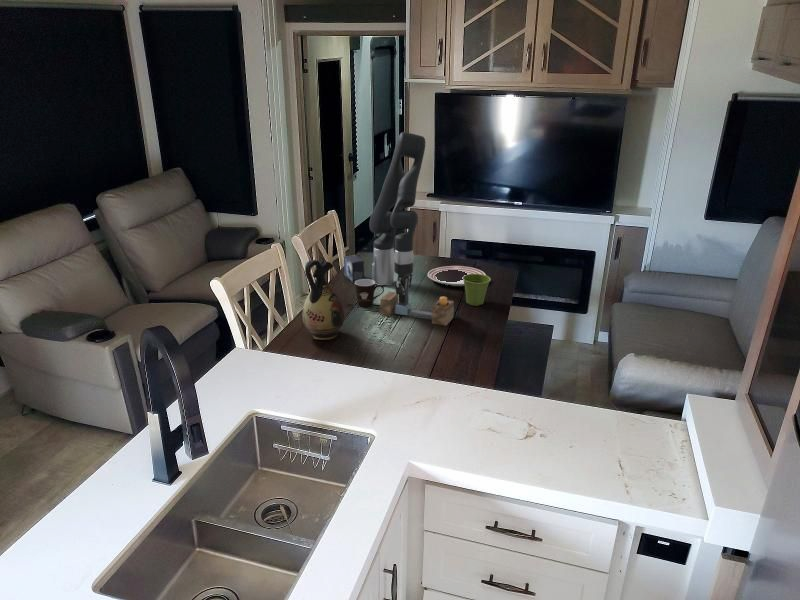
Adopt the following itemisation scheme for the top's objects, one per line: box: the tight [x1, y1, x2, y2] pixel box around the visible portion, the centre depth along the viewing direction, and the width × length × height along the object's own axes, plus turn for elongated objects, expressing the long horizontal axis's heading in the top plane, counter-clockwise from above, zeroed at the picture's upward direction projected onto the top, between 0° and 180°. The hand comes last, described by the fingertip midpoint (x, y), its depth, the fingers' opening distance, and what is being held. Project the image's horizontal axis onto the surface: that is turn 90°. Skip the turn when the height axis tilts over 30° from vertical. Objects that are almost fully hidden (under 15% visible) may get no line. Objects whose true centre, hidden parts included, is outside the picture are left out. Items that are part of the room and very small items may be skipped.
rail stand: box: [380, 291, 455, 326], centre depth 237 cm, size 28×9×7 cm, turn 68°
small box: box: [343, 254, 365, 283], centre depth 277 cm, size 11×6×10 cm, turn 28°
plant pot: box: [462, 274, 492, 307], centre depth 249 cm, size 12×12×11 cm
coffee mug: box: [354, 278, 385, 308], centre depth 247 cm, size 12×9×10 cm
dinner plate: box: [427, 265, 487, 287], centre depth 278 cm, size 27×27×3 cm
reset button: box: [439, 296, 448, 306], centre depth 231 cm, size 3×3×4 cm
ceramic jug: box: [302, 259, 345, 341], centre depth 215 cm, size 17×15×30 cm
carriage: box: [395, 287, 412, 316], centre depth 238 cm, size 5×5×10 cm
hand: (403, 301), depth 238 cm, fingers closed on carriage, 3 cm apart
